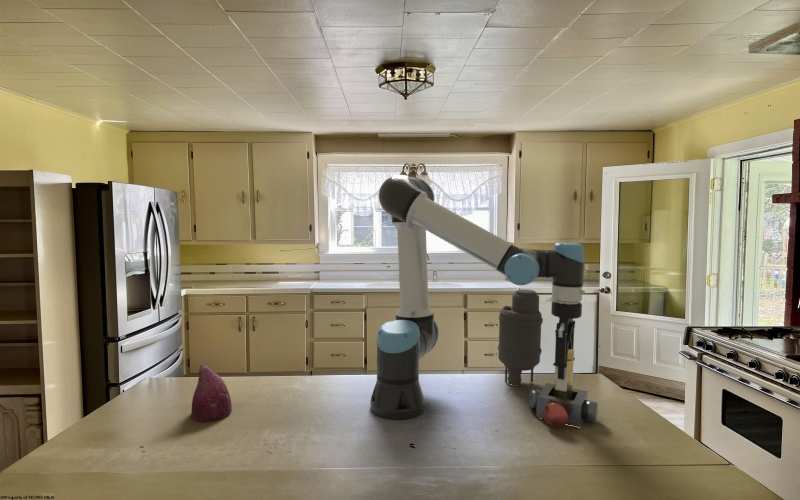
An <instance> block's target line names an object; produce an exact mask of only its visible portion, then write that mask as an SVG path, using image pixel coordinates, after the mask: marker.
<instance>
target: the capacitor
mask: <svg viewBox="0 0 800 500" xmlns="http://www.w3.org/2000/svg"><path fill="white" fill-rule="evenodd" d="M511 297H512V298H511V299H512V300H511V301H512V302H511V305H510V306H509V305H504V306H503V307H502V308H501V309H500V310H499V315H498V320H499V327H498V345H497V350H498V353H497V354H498V358H497V359H498V360H499V361H500V362H501V363H502V364H503V366H504V367H505V369H504V383H505V382H507V384H508V383H509V384H512V385H520V384H522V372H523V371H524V372H525V371H526V372H527V371H530V383H531V382H533V383H534V369H535V367H536V366H538V365H540V362H541V354H542V348H541V346H542V345H541V341H542V339H541V337H542V324H543V322H544V319H543V316H542V312H541V311H540V295H539V294H538V293H537V291H535V290H532V289H517V290H516V291H515V292H513V294H512V296H511ZM509 384H508V385H509ZM520 386H521V385H520Z"/></svg>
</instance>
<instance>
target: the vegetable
mask: <svg viewBox="0 0 800 500" xmlns="http://www.w3.org/2000/svg"><path fill="white" fill-rule="evenodd" d="M232 407H233V406H232V399H231V396H230V392H229V390H228V388H227V384H226V383H225V381H224V380H223V379H222V377H221V376H220V375H218V374H217V373H216V372H214V371H213V370H212V369H211V368H209V367H208V365H205V364H204V363H202V362H201V365H200V366H199V371H198V380H197V384H196V387H195V390H194V392H193V396H192V401H191V412H190V413H191V419H193V420H194V421H196V422H201V423H202V422H203V423H207V422H216V421H219V420H222V419H225V418H228V417H229V416H230V415H231V413H232V410H233V409H232Z"/></svg>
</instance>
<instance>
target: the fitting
mask: <svg viewBox="0 0 800 500" xmlns="http://www.w3.org/2000/svg"><path fill="white" fill-rule="evenodd" d="M574 357H575V350H574V348H573V349H572V348H569V347H568V356H567V367H568V373H567V391H566V392H565V391H561V390H556V366H555V367H554V397H558V398H562V399H567V400H572V388H573V381H574V380H573V379H574V378H573V377H574V376H573V375H574V361H575V360H574ZM573 360H574V361H573Z"/></svg>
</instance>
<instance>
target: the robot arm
mask: <svg viewBox="0 0 800 500" xmlns="http://www.w3.org/2000/svg"><path fill="white" fill-rule="evenodd" d="M378 201H379V204H380V206H381V208H382V209H383V211H385V212H386V213H387V214H389V215H390V216H391V224H392V225H393V226H394V227H395V228H396V230H397V231H396V232H397V251H398V252H397V256H398V279H399V280H398V281H399V305H400V306H399V308H398V310H396V312H395V319H394V320H392V321H387V322H384V323H383V324H381V325H380V326H379V328H378V329H377V333H376V334H377V335H376V382H375V385H374V388H373V391H372V394H371V397H370V404H369V405H370V411H371V412H372V413H373V414H374V415H376V416H379V417H380V418H384V419H389V420H405V419H406V420H407V419H411V418H415V417H418V416H419V415H421V414H422V413H423V412H424V411H425V402H426V401H425V397H424V393H423V390H422V387H421V384H420V377H419V376H420V375H419V374H420V360H421V359H422V358H423V357H425V355H427V354H428V353H430V352H432V350H433V349H434V347H435V346H436V345H437V342H438V341H439V336H440V333H439V330H440V329H439V326H438V324H437V322H436V321H435V317H434V316H435V315H434V312H435V311H434V310H432V308H430V306H429V285H428V282H429V281H428V253H427V249H428V248H427V232H429V233H430V234H431V235H434V236H436V237H437V238H439V239H441V240H443V241H444V242H447V243H448V244H450V245H452V246H453V247H455V248H457V249H458V250H461V251H462V252H463V253H466V254H467V255H469V256H471V257H473V258H475V259H476V260H478V261H480V262H481V263H484V264H485V265H487V266H489V267H490V268H492V269H494V270H495V271H497V272H499V273H500V274H501V275H504V276H505V277H506V278H507V279H508V281H510V282H511V284H514V285H516V286H526V285H528V284H532V283H533V282H534V281H535V280H536V279H537V278H543V279H544V278H545V279H552V287H551V299H552V302H551V310H550V311H551V316H554V317H557V318H558V319H559V320H558V322H557V323H556V328H555V332H554V333H555V351H554V356H555V357H554V362H553V363H552V365H553V366H556V390H561V391H565V392H566V391H567V373H568V367H567V356H568V347H569V348H572V349H574V345H575V344H574V342H575V328H576V320H574V319H579V318H581V317H582V313H583V310H582V309H583V304H582V301H583V295H585V294H586V290H584V289H583V285H584V269H585V248H584V246H583V244H582V243H578V242H577V243H576V242H555V243H554V245H553V249H536V248H535V249H534V248H533V249H532V248H530V249H529V248H523V247H522V248H521V247H520V248H519V247H518V246H516V245H514V244H513V243H510V242H509V241H506V240H505V239H503V238H501V237H500V236H498V235H496V234H494V233H493V232H490V231H488V230H486V229H485V228H483V227H482V226H479V225H478V224H476V223H474V222H472V221H470V220H469V219H466V218H464V217H463V216H461V215H459V214H457V213H456V212H453V211H452V210H451V209H448V208H446V207H445V206H443V205H441V204H439V203H437V202H435V193H434V190H433V189H432V187H431V185H430V184H429V183H427V182H426V181H424V180H423V179H421V178H419V177H412V176H407V175H404V174H395V175H392V176H390V177H388V178H387V179H385V180H384V181H383V183H382V184H381V185H380V187H379V191H378ZM575 359H576V358H575V356H574V360H573V362H574V361H575Z"/></svg>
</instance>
